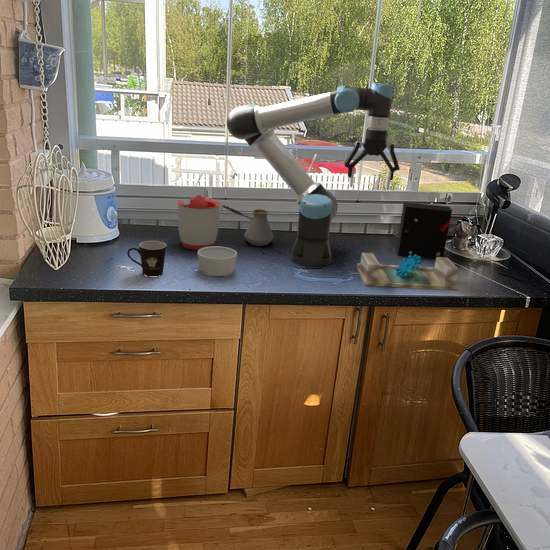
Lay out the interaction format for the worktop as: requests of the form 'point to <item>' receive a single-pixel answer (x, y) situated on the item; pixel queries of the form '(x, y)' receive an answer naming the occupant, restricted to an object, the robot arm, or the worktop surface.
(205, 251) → the ramekin
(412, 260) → the gear
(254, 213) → the coffee pot
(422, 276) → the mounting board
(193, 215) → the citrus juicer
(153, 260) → the coffee mug
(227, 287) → the worktop surface
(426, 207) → the electrical component
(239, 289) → the worktop surface
